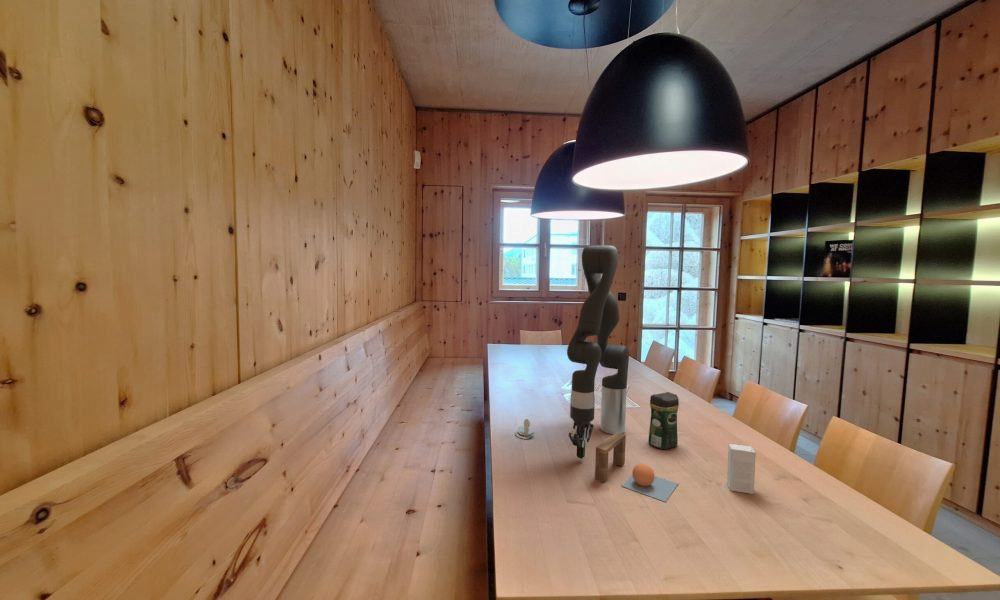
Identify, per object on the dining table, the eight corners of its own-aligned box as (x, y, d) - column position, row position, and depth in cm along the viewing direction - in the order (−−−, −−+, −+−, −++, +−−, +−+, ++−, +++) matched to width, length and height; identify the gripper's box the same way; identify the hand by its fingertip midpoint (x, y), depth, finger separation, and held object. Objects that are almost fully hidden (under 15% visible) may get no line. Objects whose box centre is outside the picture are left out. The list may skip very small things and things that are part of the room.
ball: (633, 462, 118) (650, 457, 115) (644, 482, 117) (661, 477, 113) (625, 472, 114) (642, 466, 110) (636, 492, 112) (654, 487, 109)
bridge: (594, 479, 116) (595, 447, 116) (615, 461, 128) (616, 432, 127) (604, 483, 114) (605, 450, 114) (624, 464, 126) (625, 434, 125)
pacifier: (524, 442, 142) (537, 437, 146) (524, 425, 142) (537, 421, 145) (511, 435, 148) (524, 431, 152) (511, 418, 148) (524, 415, 151)
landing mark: (636, 470, 122) (637, 470, 122) (678, 484, 115) (678, 483, 115) (621, 486, 113) (621, 485, 113) (665, 502, 105) (665, 501, 105)
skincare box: (749, 487, 114) (752, 446, 113) (753, 494, 110) (756, 452, 109) (725, 483, 116) (728, 443, 115) (729, 490, 112) (731, 449, 111)
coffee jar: (662, 438, 147) (665, 388, 146) (681, 446, 140) (683, 394, 139) (643, 442, 143) (646, 392, 142) (662, 451, 136) (664, 398, 135)
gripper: (583, 412, 119) (581, 468, 120) (602, 401, 129) (600, 453, 130) (561, 406, 123) (559, 460, 125) (581, 396, 134) (579, 447, 135)
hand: (580, 457), depth 127 cm, fingers closed
